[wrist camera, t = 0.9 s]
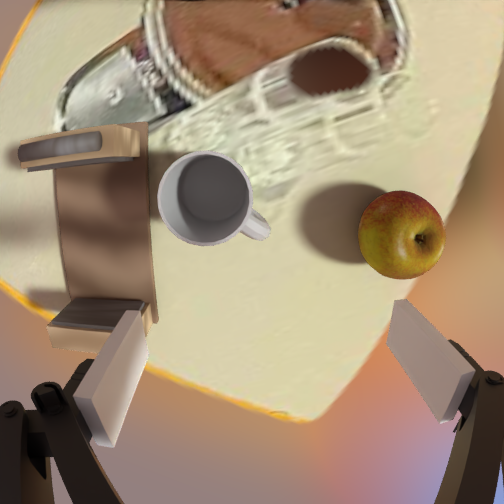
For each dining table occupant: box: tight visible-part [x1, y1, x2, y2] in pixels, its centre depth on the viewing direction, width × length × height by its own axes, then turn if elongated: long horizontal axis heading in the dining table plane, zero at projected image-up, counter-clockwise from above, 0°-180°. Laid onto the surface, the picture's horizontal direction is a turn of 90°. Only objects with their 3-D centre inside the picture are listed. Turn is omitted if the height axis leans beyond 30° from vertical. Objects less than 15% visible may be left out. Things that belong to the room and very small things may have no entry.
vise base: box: [46, 122, 159, 354], centre depth 28 cm, size 22×11×8 cm, turn 179°
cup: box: [157, 151, 271, 246], centre depth 28 cm, size 7×10×9 cm
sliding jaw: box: [18, 124, 140, 172], centre depth 24 cm, size 3×10×9 cm, turn 89°
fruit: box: [358, 191, 446, 279], centre depth 30 cm, size 10×9×8 cm
